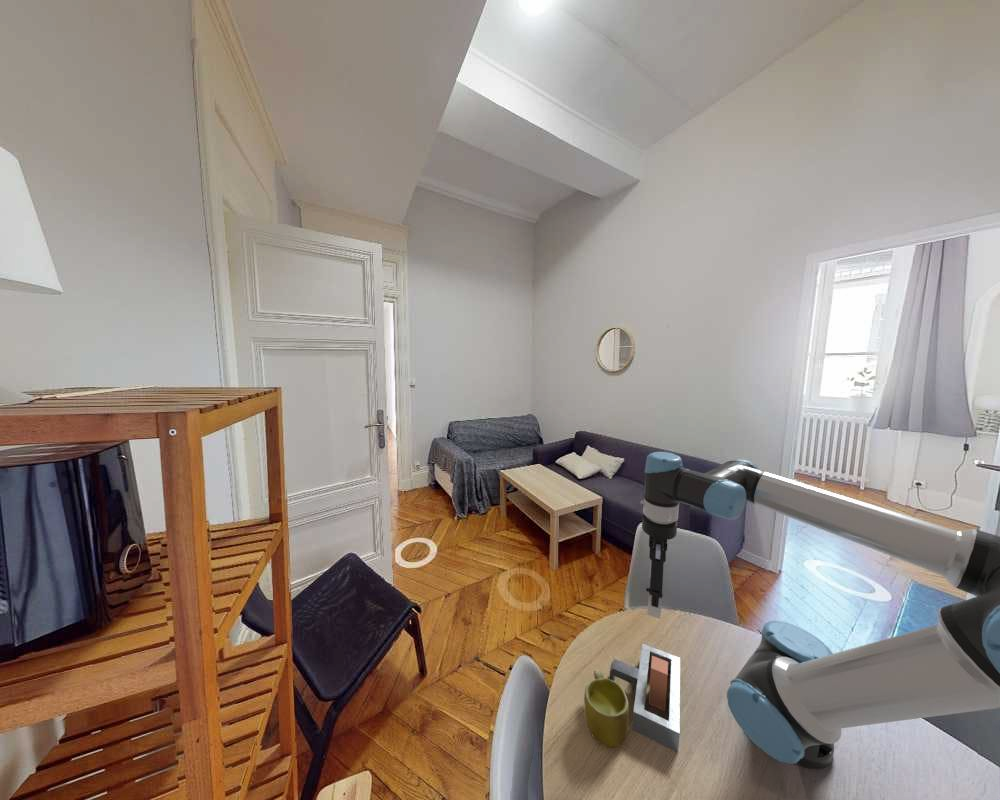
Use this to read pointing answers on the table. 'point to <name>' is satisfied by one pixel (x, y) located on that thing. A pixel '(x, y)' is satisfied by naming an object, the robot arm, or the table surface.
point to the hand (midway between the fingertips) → (654, 595)
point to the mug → (606, 710)
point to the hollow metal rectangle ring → (643, 719)
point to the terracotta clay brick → (658, 682)
